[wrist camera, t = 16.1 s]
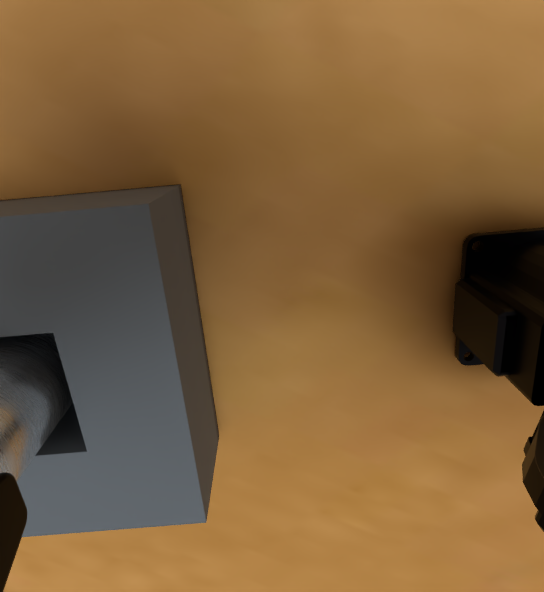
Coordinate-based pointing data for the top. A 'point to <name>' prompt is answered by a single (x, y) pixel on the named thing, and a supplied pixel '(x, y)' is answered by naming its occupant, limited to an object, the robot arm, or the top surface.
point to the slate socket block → (113, 358)
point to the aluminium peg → (29, 397)
